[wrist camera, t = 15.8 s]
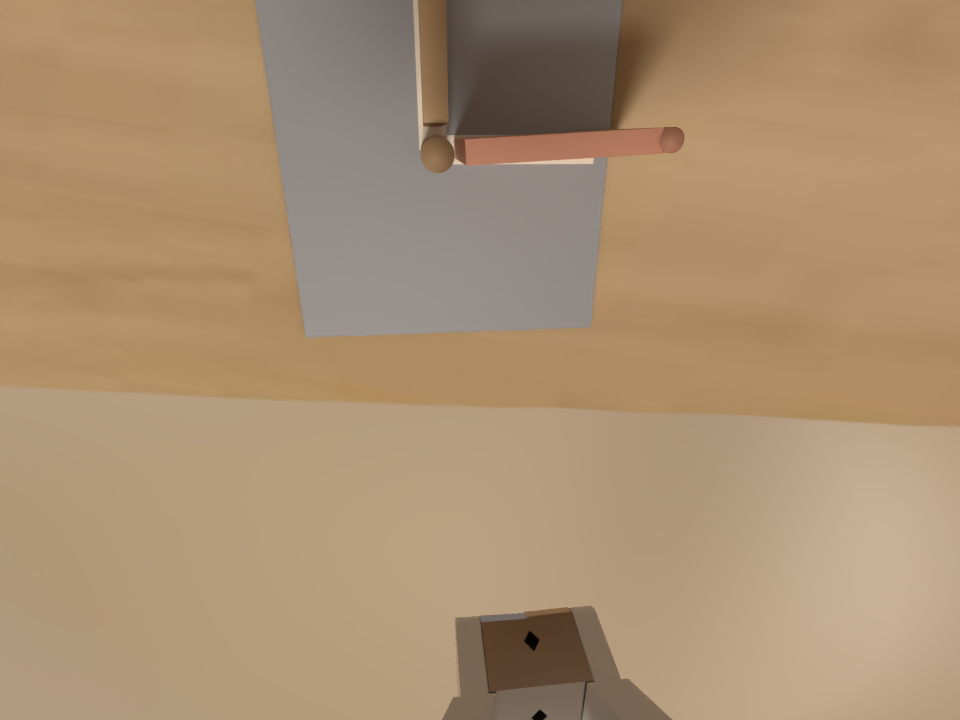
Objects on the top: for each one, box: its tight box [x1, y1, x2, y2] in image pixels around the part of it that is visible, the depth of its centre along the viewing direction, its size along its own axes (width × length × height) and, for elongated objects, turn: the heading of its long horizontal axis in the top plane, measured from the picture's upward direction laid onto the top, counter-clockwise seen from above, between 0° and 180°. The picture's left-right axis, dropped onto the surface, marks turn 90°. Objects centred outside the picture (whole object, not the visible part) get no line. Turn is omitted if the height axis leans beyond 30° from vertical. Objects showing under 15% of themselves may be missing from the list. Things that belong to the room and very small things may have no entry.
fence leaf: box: [454, 127, 684, 166], centre depth 29 cm, size 1×11×10 cm, turn 93°
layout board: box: [255, 0, 623, 337], centre depth 34 cm, size 22×24×1 cm
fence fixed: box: [418, 0, 455, 173], centre depth 26 cm, size 2×11×11 cm, turn 0°
